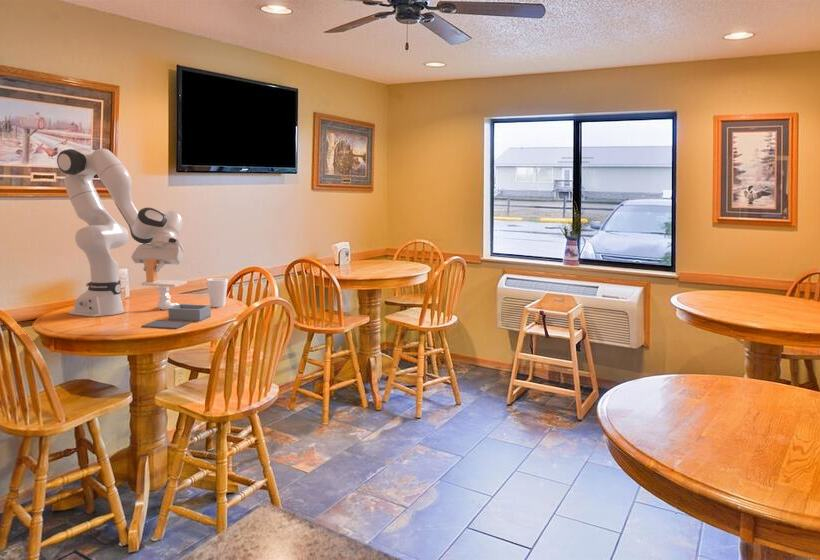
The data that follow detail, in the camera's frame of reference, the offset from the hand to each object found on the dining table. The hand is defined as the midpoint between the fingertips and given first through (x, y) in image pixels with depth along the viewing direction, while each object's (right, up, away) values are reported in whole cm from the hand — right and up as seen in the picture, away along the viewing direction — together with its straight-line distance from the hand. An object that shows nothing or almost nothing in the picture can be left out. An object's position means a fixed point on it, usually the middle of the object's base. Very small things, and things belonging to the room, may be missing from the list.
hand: (150, 270), depth 240 cm
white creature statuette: (-8, -17, +35) cm, 40 cm away
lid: (+5, -5, +1) cm, 8 cm away
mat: (+5, -22, +3) cm, 23 cm away
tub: (+10, -20, +17) cm, 28 cm away
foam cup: (+13, -16, +43) cm, 48 cm away
